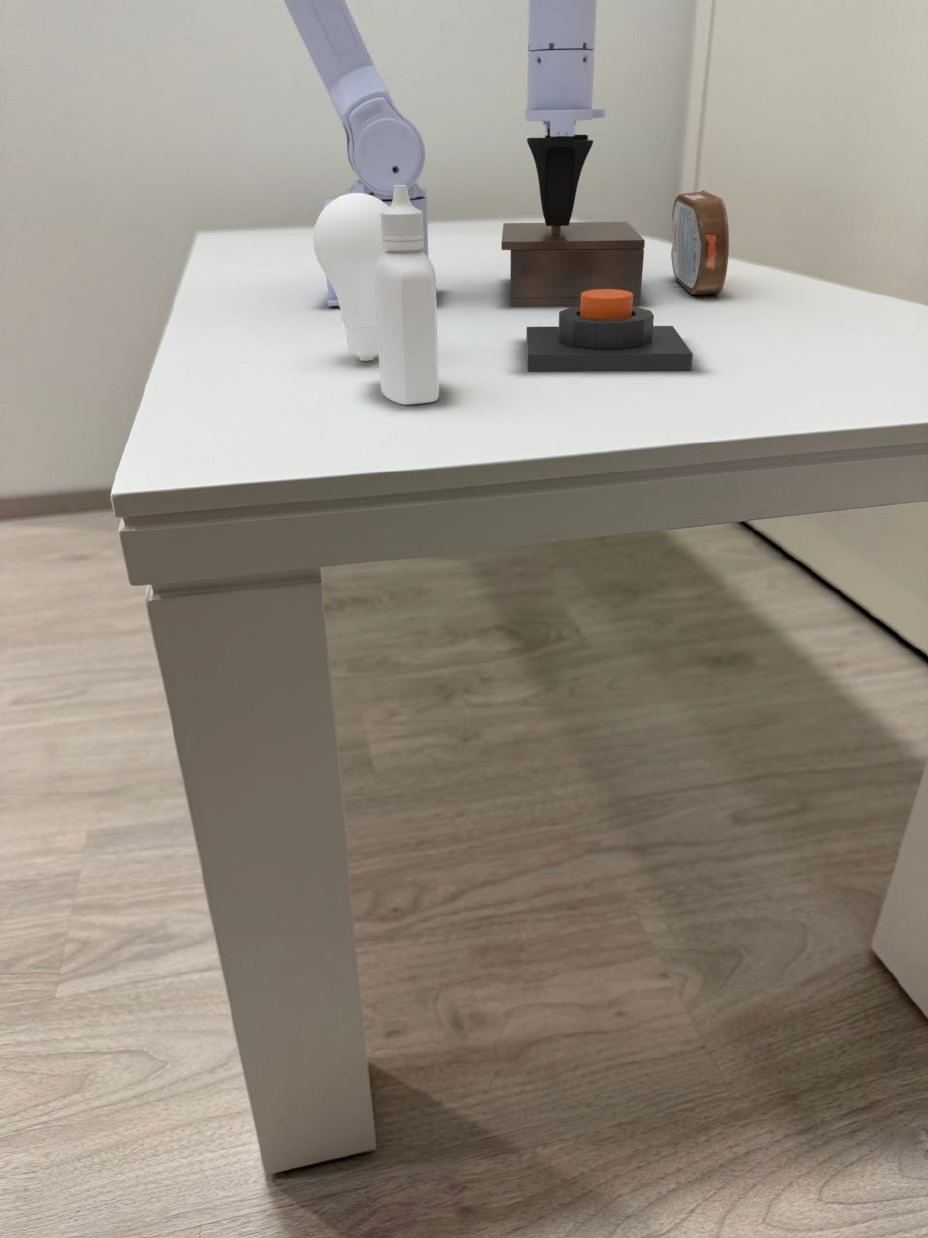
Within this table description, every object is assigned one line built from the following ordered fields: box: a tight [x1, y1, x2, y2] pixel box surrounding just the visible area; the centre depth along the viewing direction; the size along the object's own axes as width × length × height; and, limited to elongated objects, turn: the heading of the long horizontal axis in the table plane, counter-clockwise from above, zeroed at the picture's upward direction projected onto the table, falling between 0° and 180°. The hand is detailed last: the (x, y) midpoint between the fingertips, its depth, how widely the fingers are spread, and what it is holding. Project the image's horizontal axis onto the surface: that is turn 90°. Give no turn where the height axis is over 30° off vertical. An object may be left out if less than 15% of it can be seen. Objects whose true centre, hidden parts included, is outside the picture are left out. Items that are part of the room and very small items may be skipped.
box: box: [509, 248, 645, 308], centre depth 88 cm, size 12×15×5 cm
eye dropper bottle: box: [374, 185, 440, 406], centre depth 56 cm, size 4×6×12 cm
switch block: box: [525, 306, 694, 373], centre depth 66 cm, size 11×9×3 cm
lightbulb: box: [312, 193, 389, 362], centre depth 64 cm, size 6×6×11 cm
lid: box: [500, 221, 646, 251], centre depth 86 cm, size 12×15×5 cm
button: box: [580, 289, 633, 319], centre depth 65 cm, size 4×4×2 cm
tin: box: [670, 189, 730, 296], centre depth 88 cm, size 15×3×8 cm, turn 179°
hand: (556, 222), depth 86 cm, fingers closed on lid, 5 cm apart
